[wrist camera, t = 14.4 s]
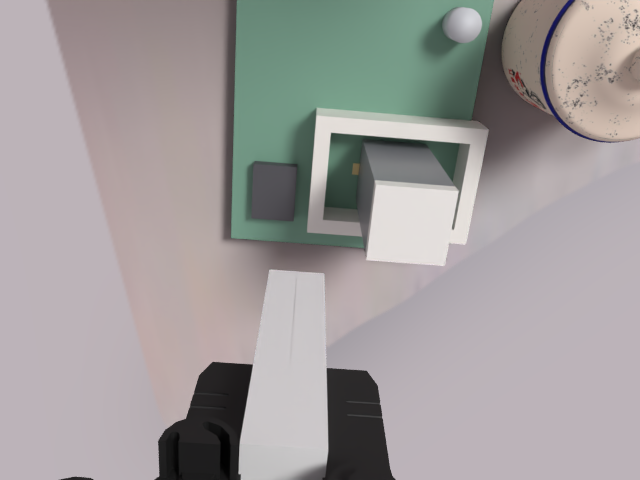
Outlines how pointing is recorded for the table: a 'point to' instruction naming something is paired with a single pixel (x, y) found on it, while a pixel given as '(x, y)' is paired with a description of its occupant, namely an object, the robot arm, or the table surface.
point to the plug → (404, 203)
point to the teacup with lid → (578, 64)
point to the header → (394, 126)
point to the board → (339, 95)
